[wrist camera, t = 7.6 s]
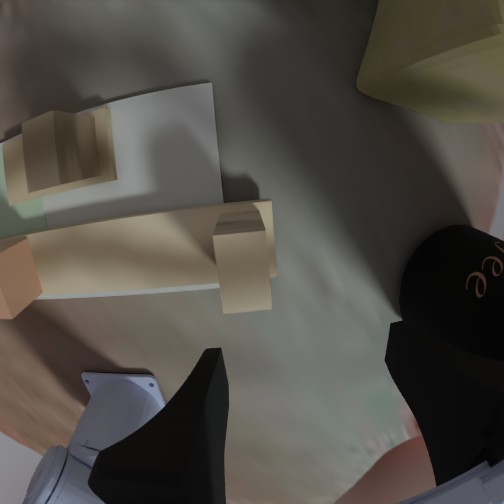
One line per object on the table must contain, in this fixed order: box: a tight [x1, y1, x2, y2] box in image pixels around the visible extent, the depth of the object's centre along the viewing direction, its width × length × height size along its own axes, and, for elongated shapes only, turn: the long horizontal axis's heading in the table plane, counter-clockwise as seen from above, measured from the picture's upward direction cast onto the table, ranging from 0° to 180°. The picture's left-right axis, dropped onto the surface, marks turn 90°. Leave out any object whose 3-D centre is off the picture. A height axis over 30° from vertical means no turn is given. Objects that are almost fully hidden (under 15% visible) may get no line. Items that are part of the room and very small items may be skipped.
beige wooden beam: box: [0, 199, 277, 314], centre depth 17 cm, size 5×24×6 cm, turn 95°
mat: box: [0, 83, 224, 300], centre depth 19 cm, size 14×32×1 cm, turn 95°
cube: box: [0, 238, 43, 319], centre depth 17 cm, size 4×4×4 cm
